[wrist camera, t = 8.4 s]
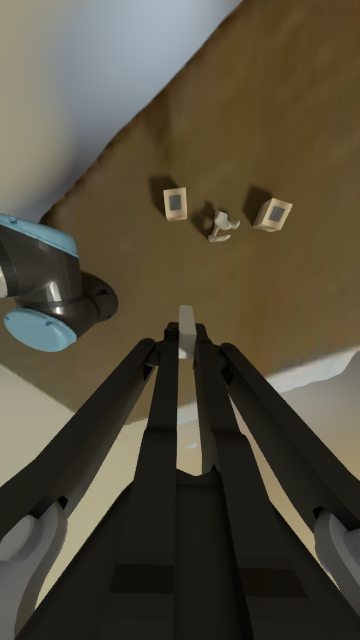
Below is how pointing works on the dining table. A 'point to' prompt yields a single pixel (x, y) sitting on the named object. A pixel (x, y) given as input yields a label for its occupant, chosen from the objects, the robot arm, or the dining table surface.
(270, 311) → the dining table surface
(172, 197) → the marked cube 2
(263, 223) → the marked cube 1
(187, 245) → the dining table surface
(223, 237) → the white irregular piece
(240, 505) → the robot arm
